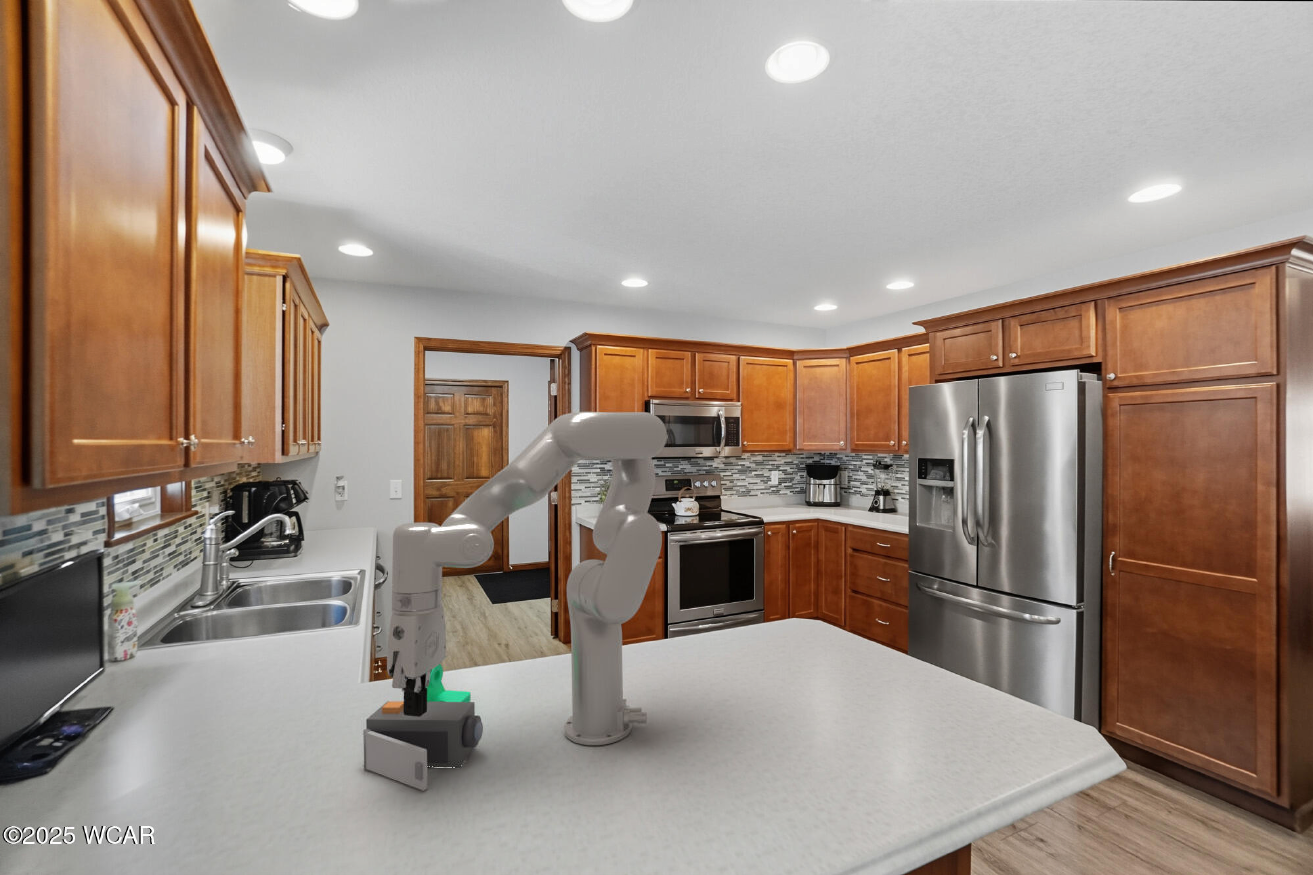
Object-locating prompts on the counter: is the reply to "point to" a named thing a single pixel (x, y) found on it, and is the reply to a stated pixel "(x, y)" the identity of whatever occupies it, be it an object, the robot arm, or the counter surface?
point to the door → (395, 759)
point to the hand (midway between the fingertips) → (415, 713)
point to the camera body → (432, 729)
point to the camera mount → (439, 693)
